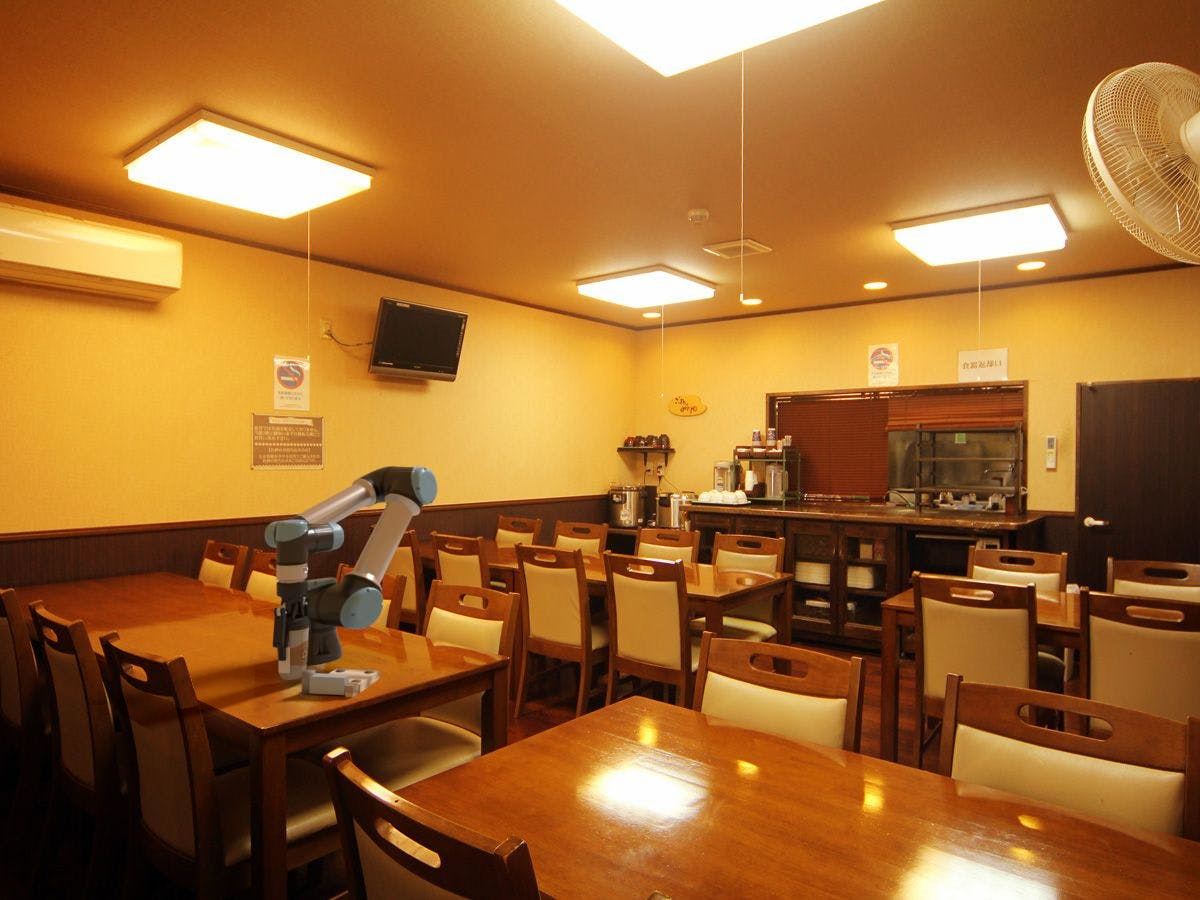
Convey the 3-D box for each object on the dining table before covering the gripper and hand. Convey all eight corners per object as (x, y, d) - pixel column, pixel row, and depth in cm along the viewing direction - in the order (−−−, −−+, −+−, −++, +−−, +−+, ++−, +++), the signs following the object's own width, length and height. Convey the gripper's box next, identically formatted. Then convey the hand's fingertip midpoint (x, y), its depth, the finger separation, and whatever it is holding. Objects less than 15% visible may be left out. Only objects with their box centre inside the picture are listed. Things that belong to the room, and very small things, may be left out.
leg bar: (299, 693, 186) (299, 673, 186) (305, 689, 189) (305, 669, 189) (343, 695, 184) (344, 675, 184) (349, 691, 188) (349, 671, 188)
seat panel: (327, 677, 201) (327, 665, 201) (379, 679, 200) (379, 667, 200) (295, 697, 185) (295, 684, 185) (352, 700, 184) (352, 686, 184)
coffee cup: (297, 682, 191) (297, 623, 190) (268, 679, 192) (267, 621, 192) (316, 672, 199) (316, 615, 199) (288, 670, 201) (287, 614, 200)
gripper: (284, 588, 185) (285, 680, 185) (324, 573, 205) (325, 656, 205) (256, 587, 186) (256, 679, 186) (298, 572, 206) (299, 655, 206)
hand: (292, 667), depth 196 cm, fingers closed on coffee cup, 7 cm apart
